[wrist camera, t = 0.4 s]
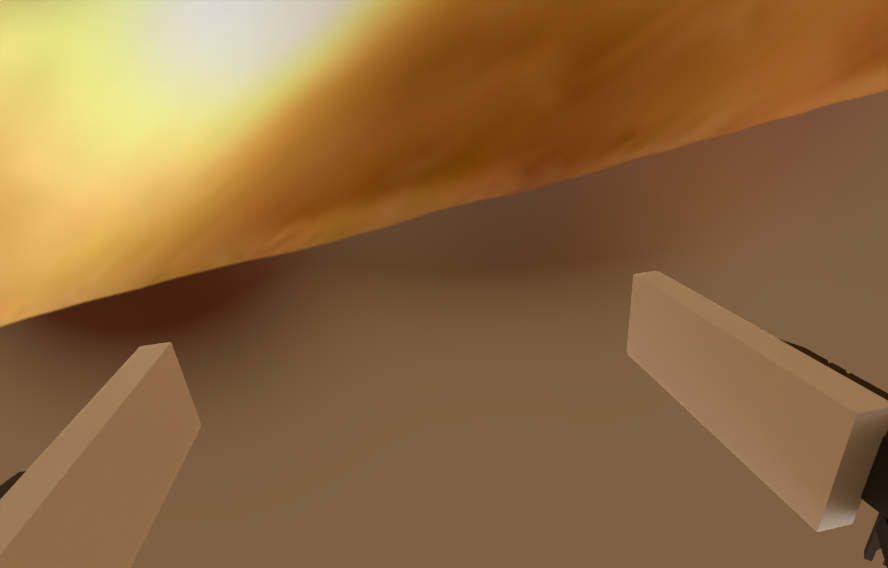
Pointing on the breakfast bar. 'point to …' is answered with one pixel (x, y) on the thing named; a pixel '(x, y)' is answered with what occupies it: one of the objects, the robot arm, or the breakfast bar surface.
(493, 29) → the breakfast bar surface
